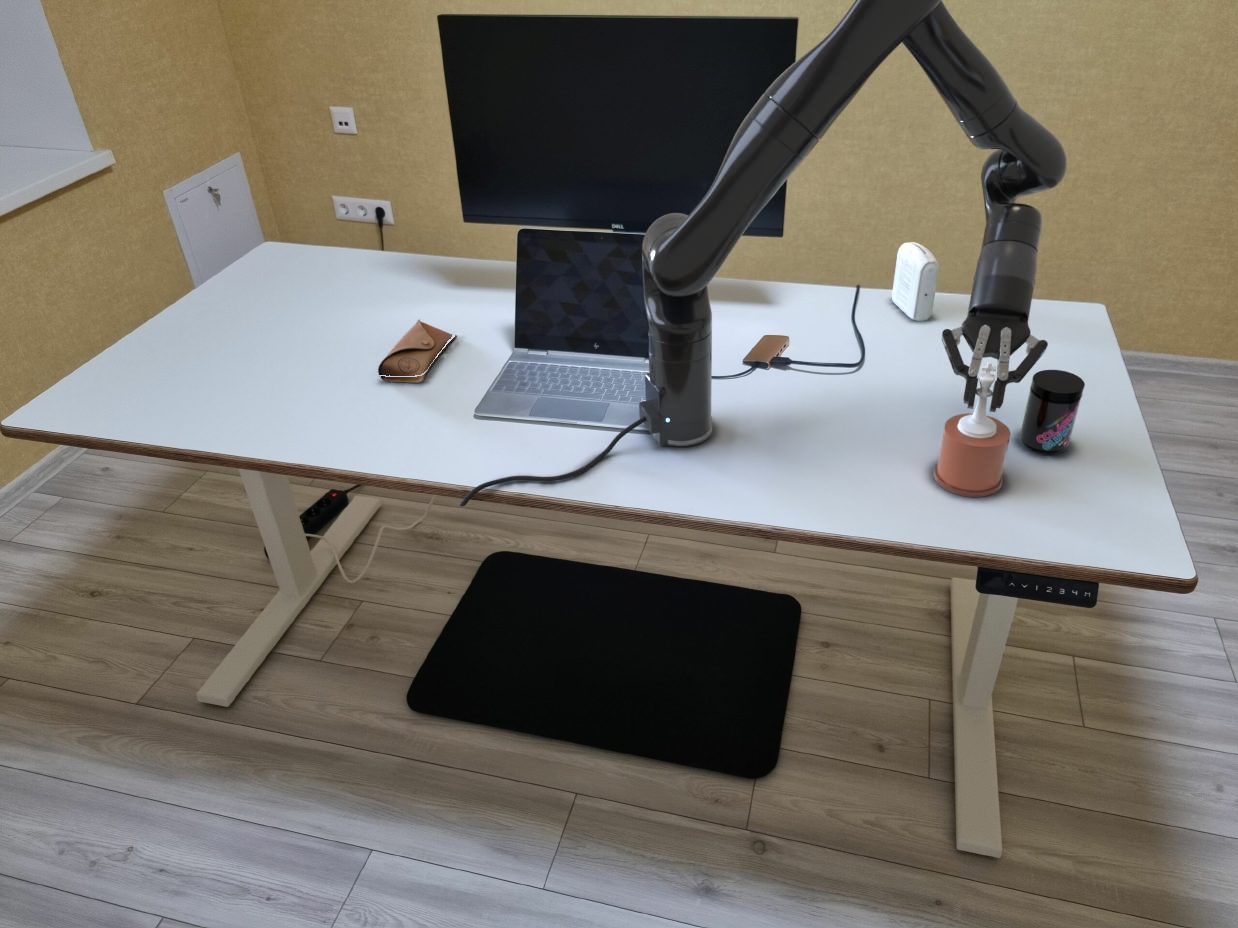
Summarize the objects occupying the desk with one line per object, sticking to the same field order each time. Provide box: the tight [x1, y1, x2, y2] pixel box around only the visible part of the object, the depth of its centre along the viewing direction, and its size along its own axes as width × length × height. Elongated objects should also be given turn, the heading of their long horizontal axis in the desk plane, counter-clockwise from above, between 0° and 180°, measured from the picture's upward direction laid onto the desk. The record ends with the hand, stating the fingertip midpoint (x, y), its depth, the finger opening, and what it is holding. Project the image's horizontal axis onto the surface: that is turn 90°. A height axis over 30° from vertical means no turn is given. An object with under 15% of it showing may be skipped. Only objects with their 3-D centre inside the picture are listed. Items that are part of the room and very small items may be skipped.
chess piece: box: [958, 361, 997, 438], centre depth 122 cm, size 5×5×10 cm
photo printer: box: [891, 241, 940, 322], centre depth 169 cm, size 10×4×12 cm, turn 11°
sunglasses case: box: [377, 318, 458, 384], centre depth 166 cm, size 18×7×7 cm
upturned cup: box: [933, 412, 1011, 498], centre depth 126 cm, size 9×9×8 cm
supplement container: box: [1019, 369, 1086, 456], centre depth 132 cm, size 7×7×10 cm
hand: (981, 408), depth 120 cm, fingers closed on chess piece, 2 cm apart
